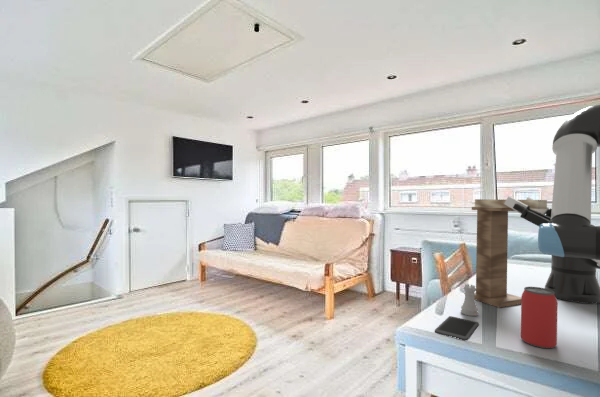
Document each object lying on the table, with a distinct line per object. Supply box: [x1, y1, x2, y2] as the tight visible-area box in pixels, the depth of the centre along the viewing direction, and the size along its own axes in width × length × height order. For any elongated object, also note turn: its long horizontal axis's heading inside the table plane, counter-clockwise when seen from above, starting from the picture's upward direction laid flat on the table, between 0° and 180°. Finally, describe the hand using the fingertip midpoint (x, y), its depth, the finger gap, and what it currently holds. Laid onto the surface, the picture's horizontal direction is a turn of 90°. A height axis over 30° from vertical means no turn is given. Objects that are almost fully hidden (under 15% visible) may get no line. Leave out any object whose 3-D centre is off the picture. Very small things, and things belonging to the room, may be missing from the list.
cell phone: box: [434, 315, 480, 341], centre depth 81 cm, size 7×14×1 cm, turn 140°
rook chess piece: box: [460, 283, 479, 317], centre depth 92 cm, size 4×4×8 cm
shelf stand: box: [471, 206, 522, 309], centre depth 104 cm, size 10×12×30 cm
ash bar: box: [474, 198, 548, 209], centre depth 101 cm, size 20×4×2 cm, turn 24°
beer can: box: [520, 286, 559, 349], centre depth 73 cm, size 7×7×12 cm
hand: (516, 200), depth 99 cm, fingers open, 8 cm apart
